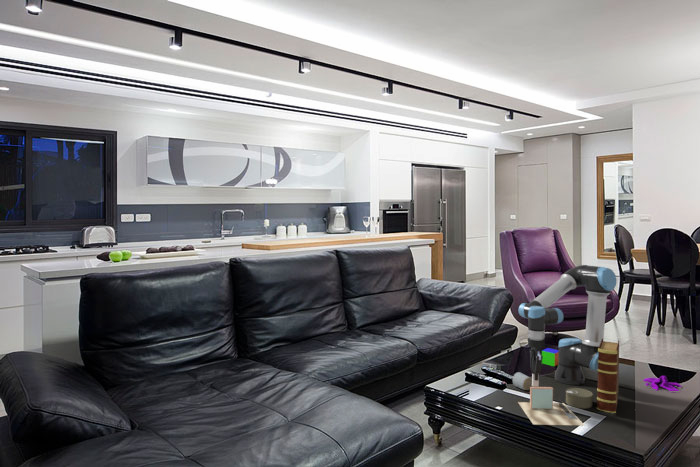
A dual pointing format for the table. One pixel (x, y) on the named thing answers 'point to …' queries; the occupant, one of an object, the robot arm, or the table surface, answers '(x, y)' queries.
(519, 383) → the grey cylinder
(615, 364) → the decorative book
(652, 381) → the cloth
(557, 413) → the board
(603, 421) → the table surface
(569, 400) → the beige short cylinder
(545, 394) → the tile
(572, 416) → the turner
